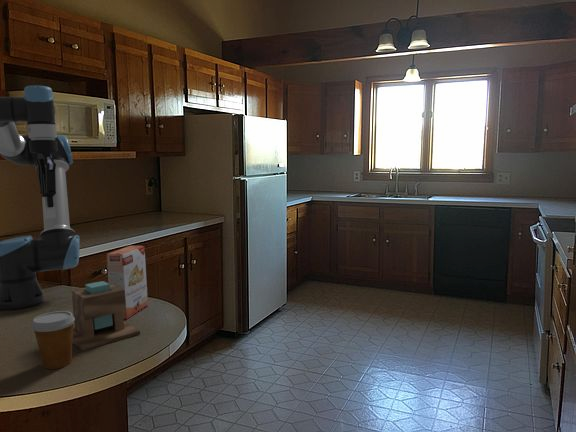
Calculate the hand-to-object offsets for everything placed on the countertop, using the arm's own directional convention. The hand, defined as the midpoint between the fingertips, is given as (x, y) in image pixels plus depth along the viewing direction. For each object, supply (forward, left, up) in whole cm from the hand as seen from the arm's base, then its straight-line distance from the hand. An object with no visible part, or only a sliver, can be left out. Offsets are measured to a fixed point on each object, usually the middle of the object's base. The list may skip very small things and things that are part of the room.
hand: (50, 217), depth 145 cm
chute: (+22, +5, -32) cm, 39 cm away
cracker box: (+9, +19, -33) cm, 39 cm away
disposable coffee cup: (+34, -10, -33) cm, 48 cm away
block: (+22, +5, -30) cm, 37 cm away
